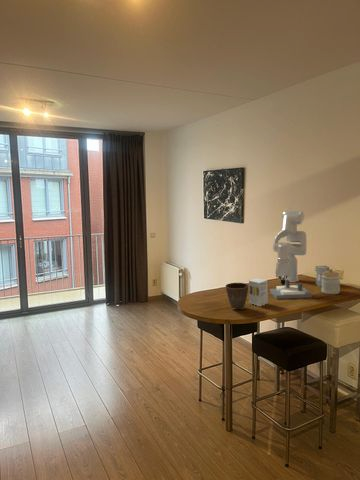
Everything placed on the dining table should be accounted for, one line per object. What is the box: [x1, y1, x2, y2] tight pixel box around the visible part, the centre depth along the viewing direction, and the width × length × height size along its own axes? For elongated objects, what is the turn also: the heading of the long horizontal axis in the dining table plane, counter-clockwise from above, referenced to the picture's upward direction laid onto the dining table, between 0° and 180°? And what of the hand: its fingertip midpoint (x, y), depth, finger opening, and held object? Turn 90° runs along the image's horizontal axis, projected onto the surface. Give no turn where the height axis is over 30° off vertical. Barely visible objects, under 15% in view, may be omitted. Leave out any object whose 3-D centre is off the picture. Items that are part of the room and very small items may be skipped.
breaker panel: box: [269, 284, 313, 300], centre depth 266 cm, size 18×26×5 cm
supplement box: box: [248, 277, 269, 307], centre depth 247 cm, size 10×9×17 cm
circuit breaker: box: [314, 265, 330, 287], centre depth 287 cm, size 8×14×15 cm, turn 89°
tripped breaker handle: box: [284, 279, 290, 287], centre depth 270 cm, size 4×2×5 cm, turn 1°
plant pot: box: [225, 282, 249, 310], centre depth 239 cm, size 15×15×16 cm
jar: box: [320, 268, 341, 295], centre depth 267 cm, size 13×13×18 cm
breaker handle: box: [297, 281, 303, 291], centre depth 260 cm, size 4×2×5 cm, turn 1°
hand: (283, 284), depth 270 cm, fingers closed
